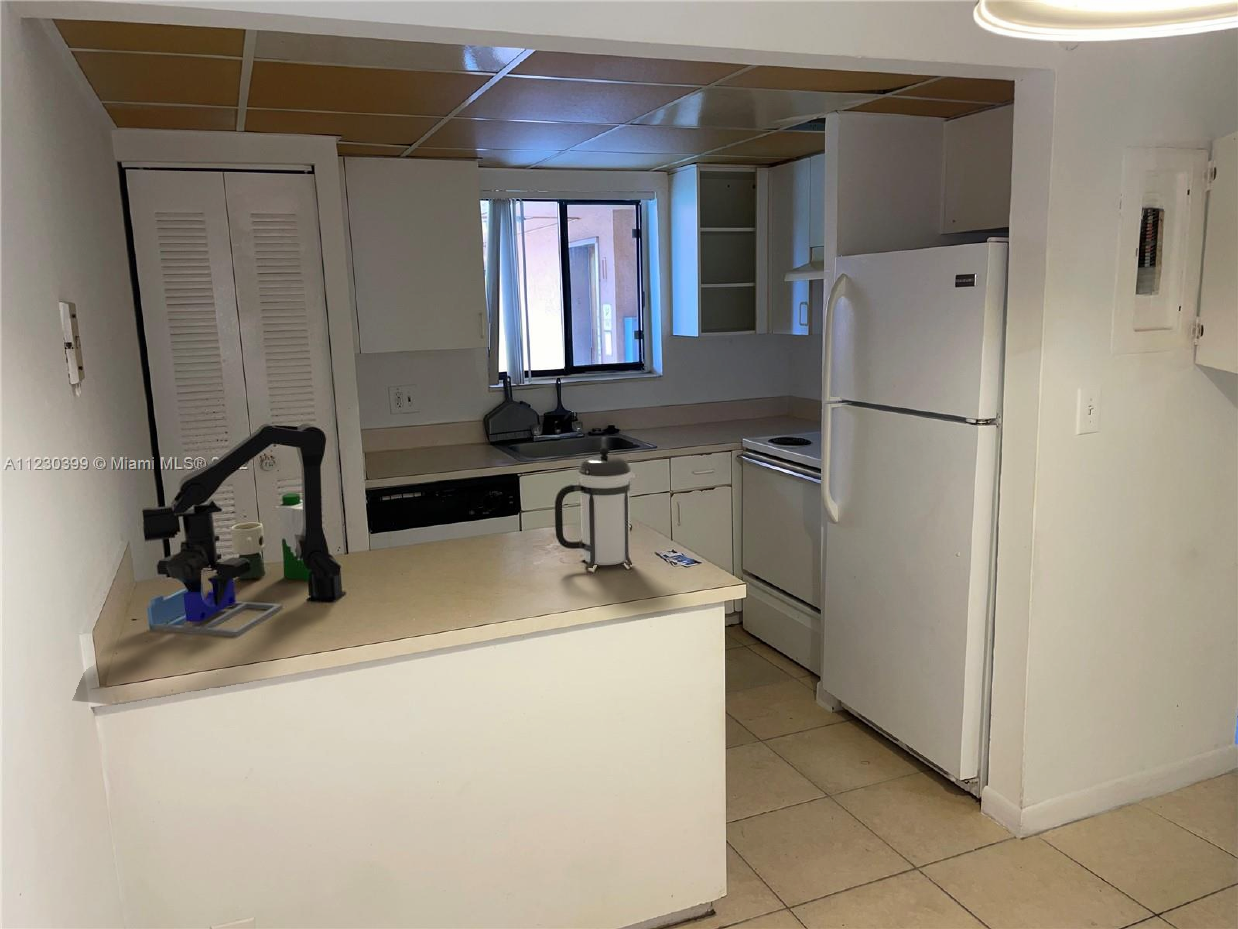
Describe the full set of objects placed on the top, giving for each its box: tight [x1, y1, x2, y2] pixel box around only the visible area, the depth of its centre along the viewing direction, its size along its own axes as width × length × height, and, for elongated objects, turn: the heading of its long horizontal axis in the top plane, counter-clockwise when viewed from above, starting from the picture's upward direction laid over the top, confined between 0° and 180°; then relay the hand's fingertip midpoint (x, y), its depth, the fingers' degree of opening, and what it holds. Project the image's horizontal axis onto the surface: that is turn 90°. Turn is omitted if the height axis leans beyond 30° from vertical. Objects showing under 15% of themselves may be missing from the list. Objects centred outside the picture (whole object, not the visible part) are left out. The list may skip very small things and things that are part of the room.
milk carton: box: [275, 493, 313, 581], centre depth 215 cm, size 9×9×20 cm
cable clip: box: [183, 578, 237, 623], centre depth 189 cm, size 12×4×6 cm, turn 168°
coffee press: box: [554, 446, 636, 569], centre depth 218 cm, size 17×16×30 cm
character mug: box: [230, 522, 266, 580], centre depth 215 cm, size 11×7×13 cm, turn 26°
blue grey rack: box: [146, 581, 284, 637], centre depth 188 cm, size 20×16×6 cm
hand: (207, 604), depth 189 cm, fingers closed on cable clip, 4 cm apart
